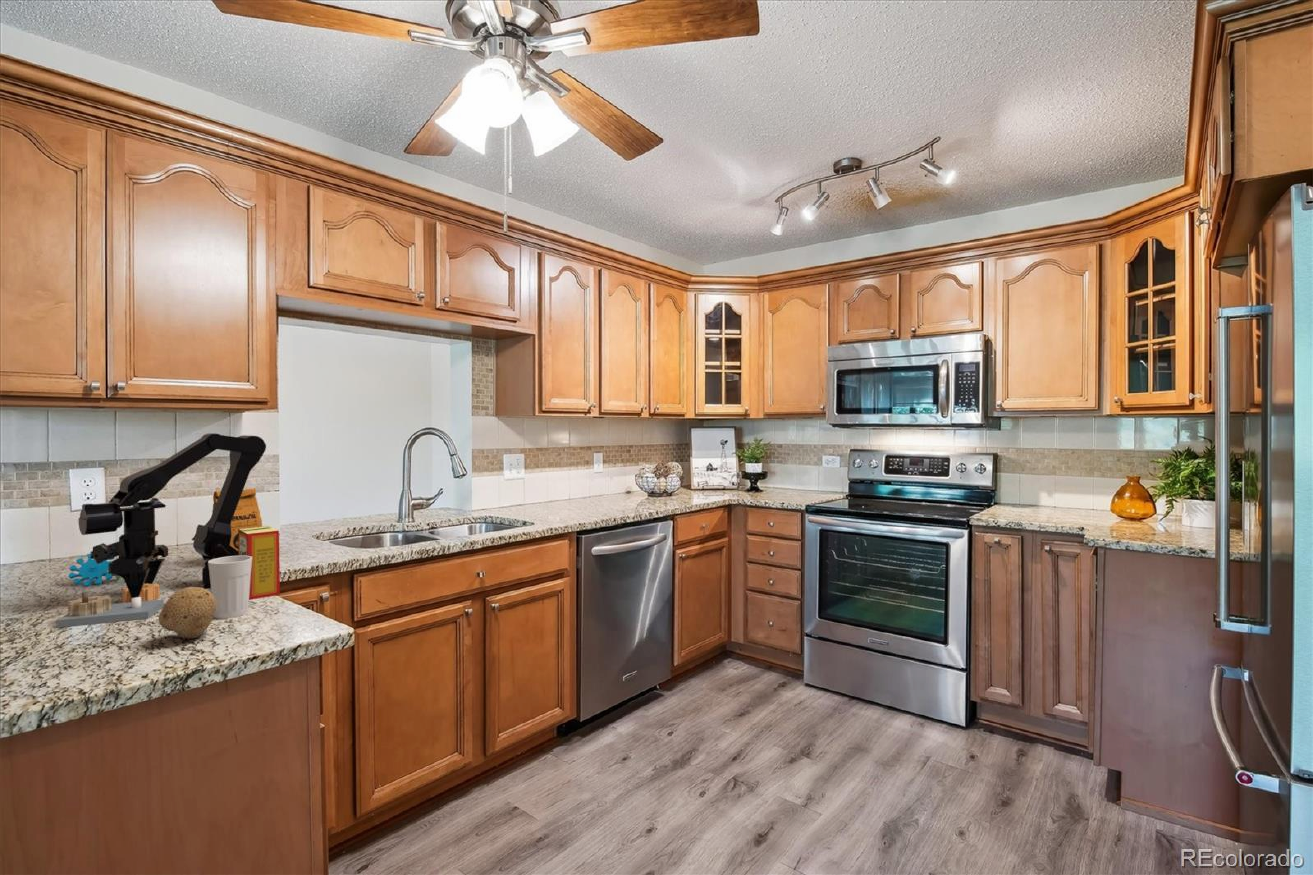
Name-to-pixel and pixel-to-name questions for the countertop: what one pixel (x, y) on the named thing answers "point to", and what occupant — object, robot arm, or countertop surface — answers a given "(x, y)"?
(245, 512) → the coffee package
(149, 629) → the countertop surface
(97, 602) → the birch gear
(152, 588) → the orange gear
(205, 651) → the countertop surface
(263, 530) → the baking soda box
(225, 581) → the cup
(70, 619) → the gear board
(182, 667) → the countertop surface
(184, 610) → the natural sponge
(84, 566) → the gear
